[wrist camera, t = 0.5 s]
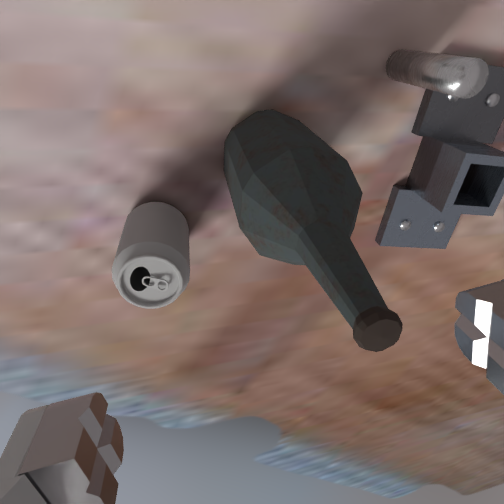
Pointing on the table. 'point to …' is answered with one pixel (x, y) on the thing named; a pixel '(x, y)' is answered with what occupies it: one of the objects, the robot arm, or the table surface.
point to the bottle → (306, 215)
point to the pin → (439, 72)
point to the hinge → (449, 168)
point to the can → (152, 256)
